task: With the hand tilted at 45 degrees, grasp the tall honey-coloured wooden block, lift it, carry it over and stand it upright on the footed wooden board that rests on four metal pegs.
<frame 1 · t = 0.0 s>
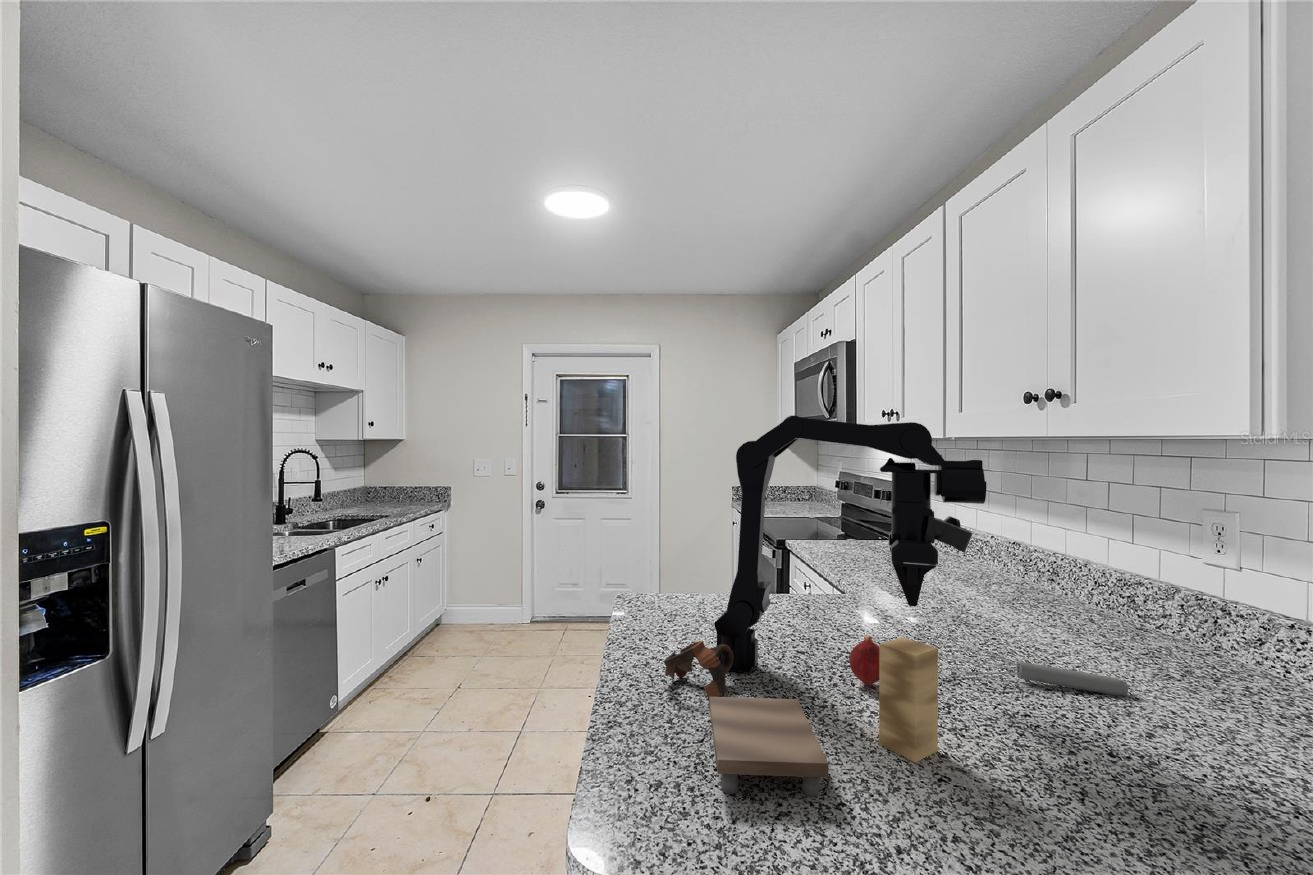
hand: (910, 599, 90), 15 cm above the worktop, tool pointing down, fingers open, 9 cm apart
footed wooden board: (761, 759, 69), on the worktop
onion: (868, 686, 92), on the worktop
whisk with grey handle: (1014, 683, 95), on the worktop
wooden block: (908, 747, 73), on the worktop
brown jagged curved piece: (701, 688, 91), on the worktop
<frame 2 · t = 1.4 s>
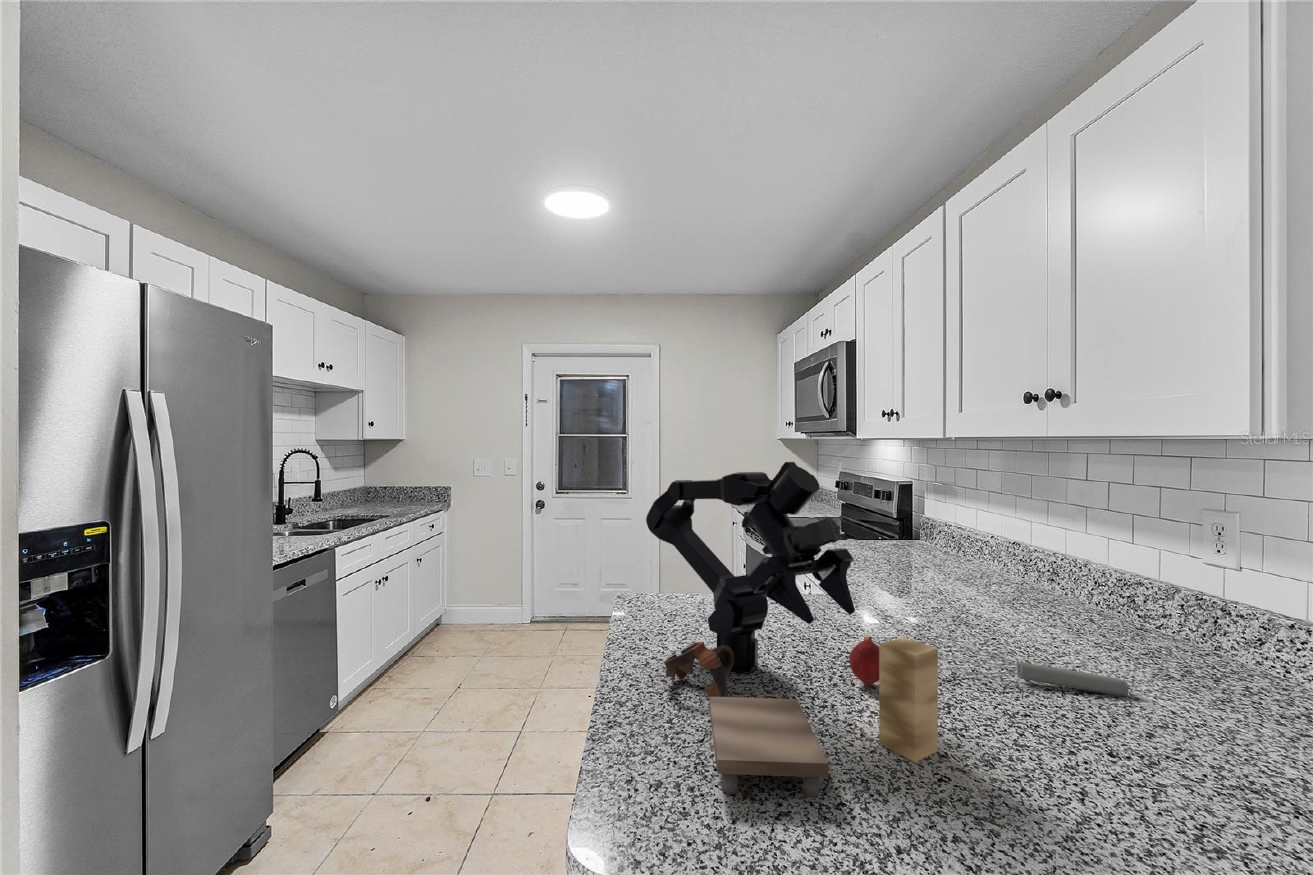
hand: (832, 617, 83), 14 cm above the worktop, tool tilted 45°, fingers open, 9 cm apart
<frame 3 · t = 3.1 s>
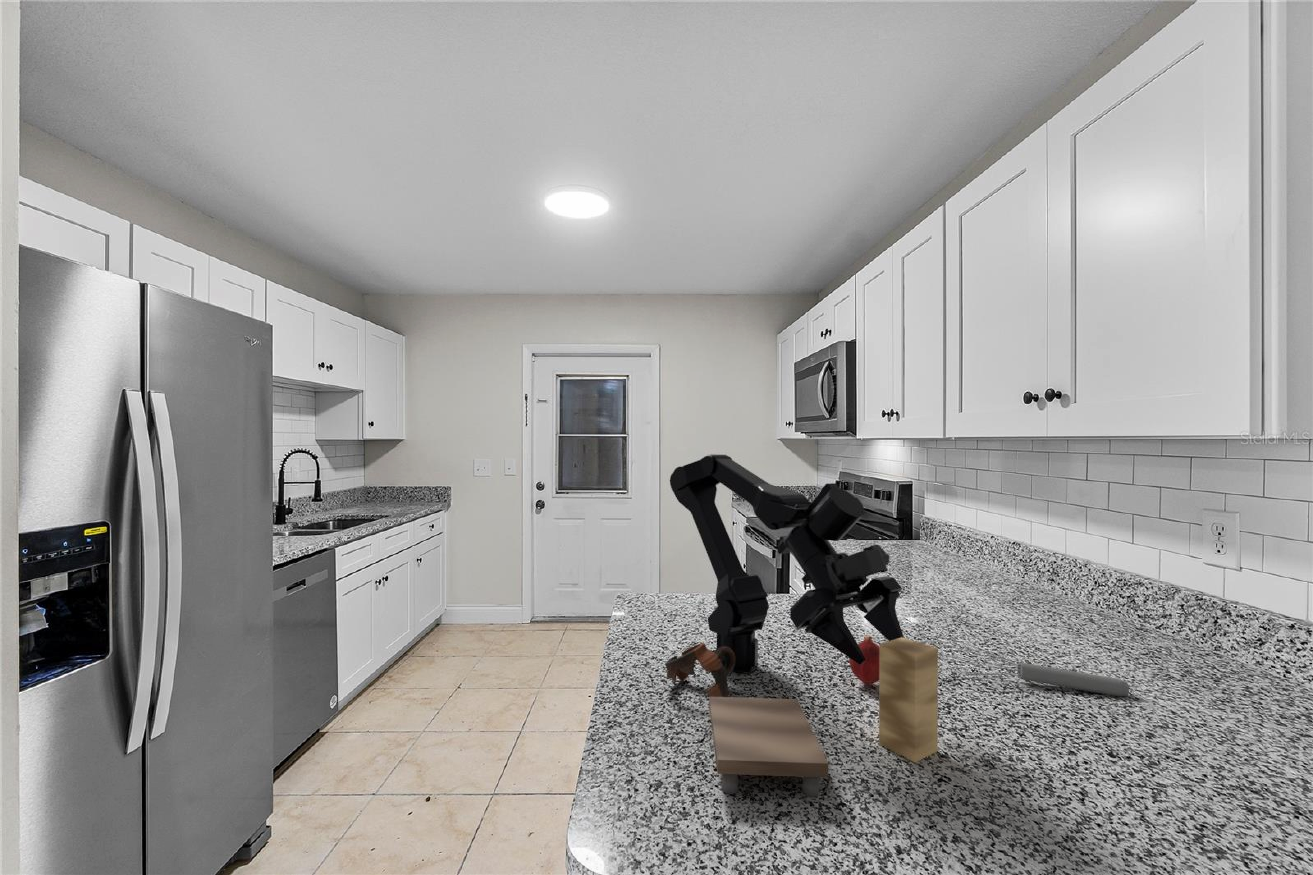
hand: (884, 656, 76), 11 cm above the worktop, tool tilted 45°, fingers open, 9 cm apart
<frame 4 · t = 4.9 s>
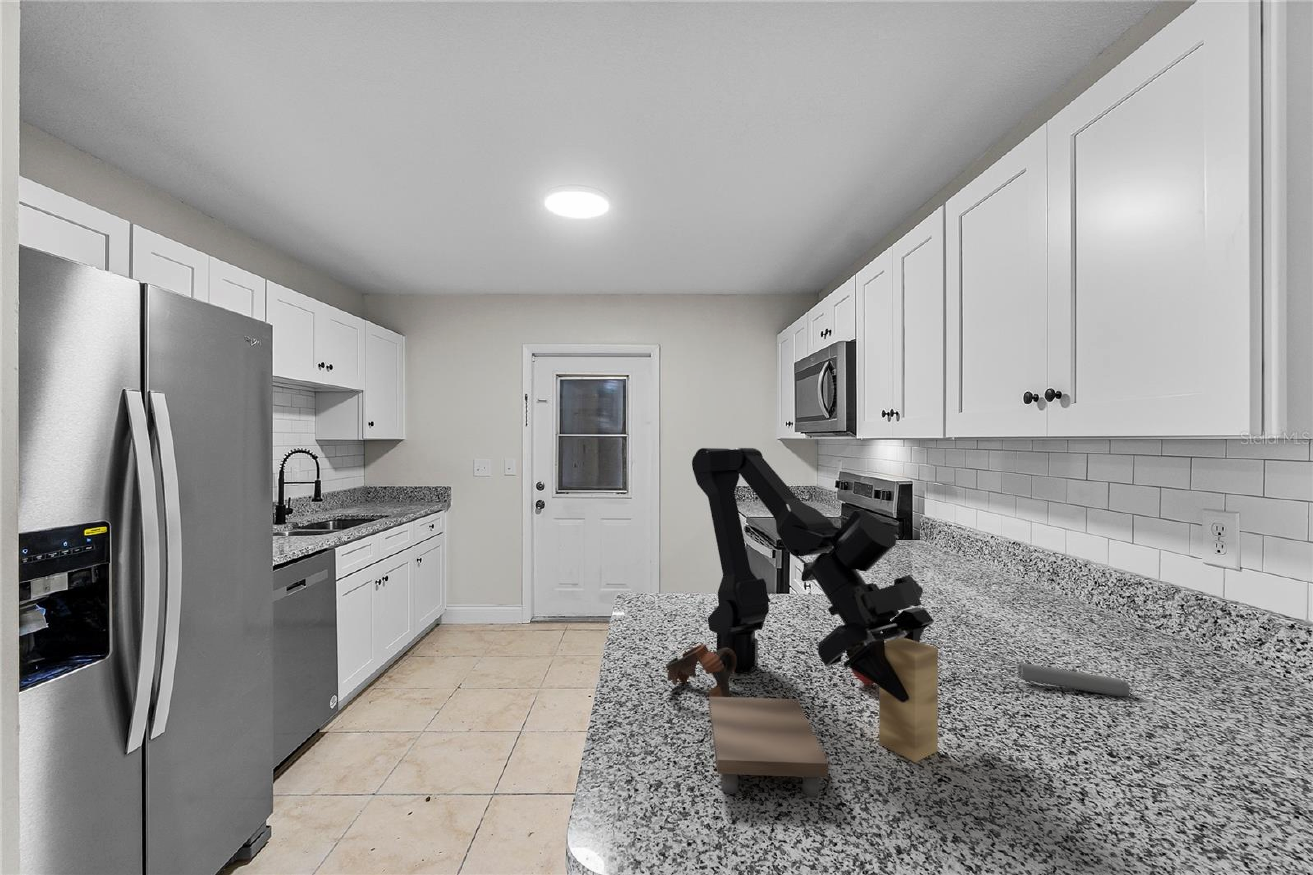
hand: (918, 696, 72), 7 cm above the worktop, tool tilted 45°, fingers closed on wooden block, 5 cm apart
wooden block: (908, 747, 73), on the worktop, touching gripper
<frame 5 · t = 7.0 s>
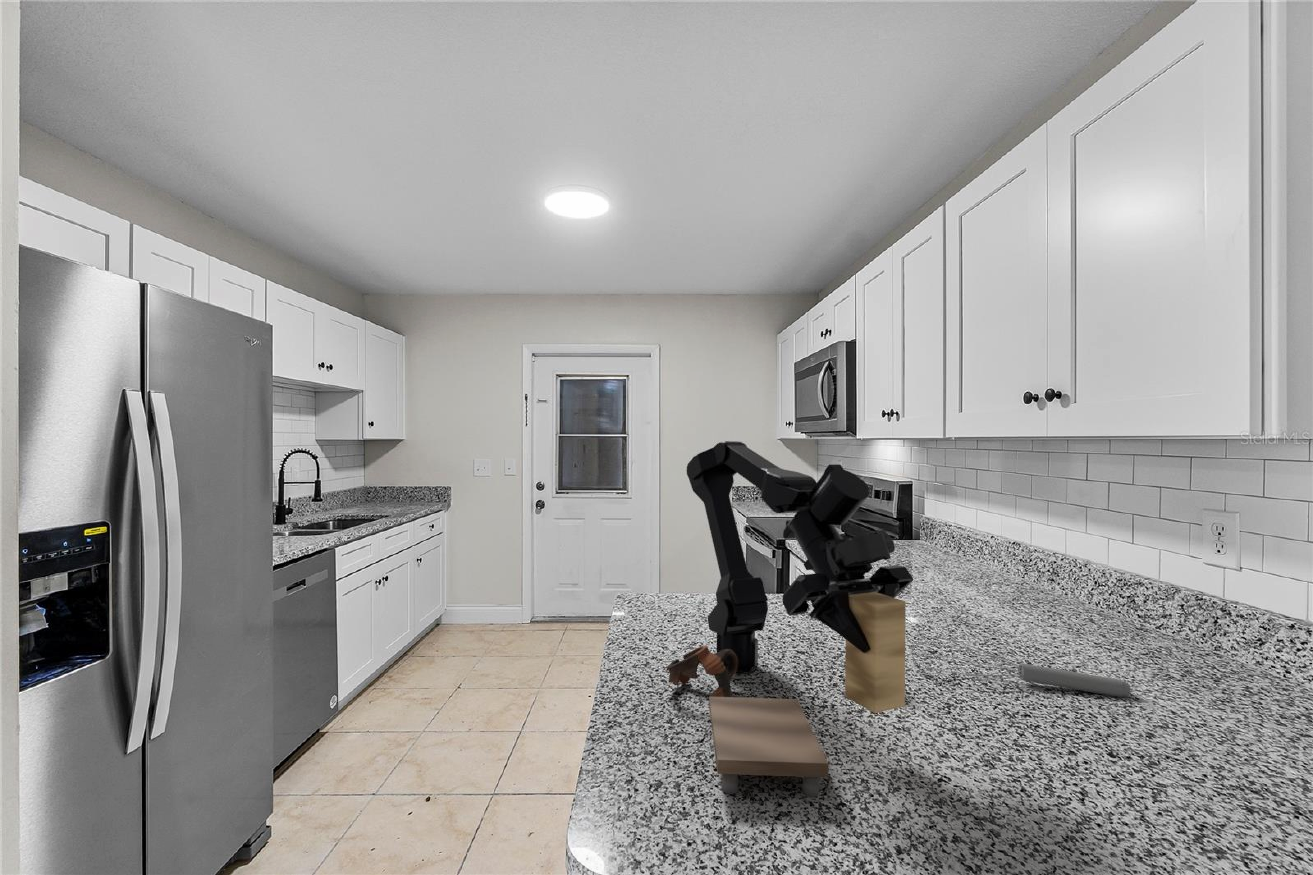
hand: (883, 648, 71), 13 cm above the worktop, tool tilted 45°, fingers closed on wooden block, 5 cm apart
wooden block: (874, 701, 72), point 6 cm above the worktop, touching gripper
when the fingers open (12 cm above the worktop, at t = 9.0 s): wooden block stays where it is, resting on footed wooden board.
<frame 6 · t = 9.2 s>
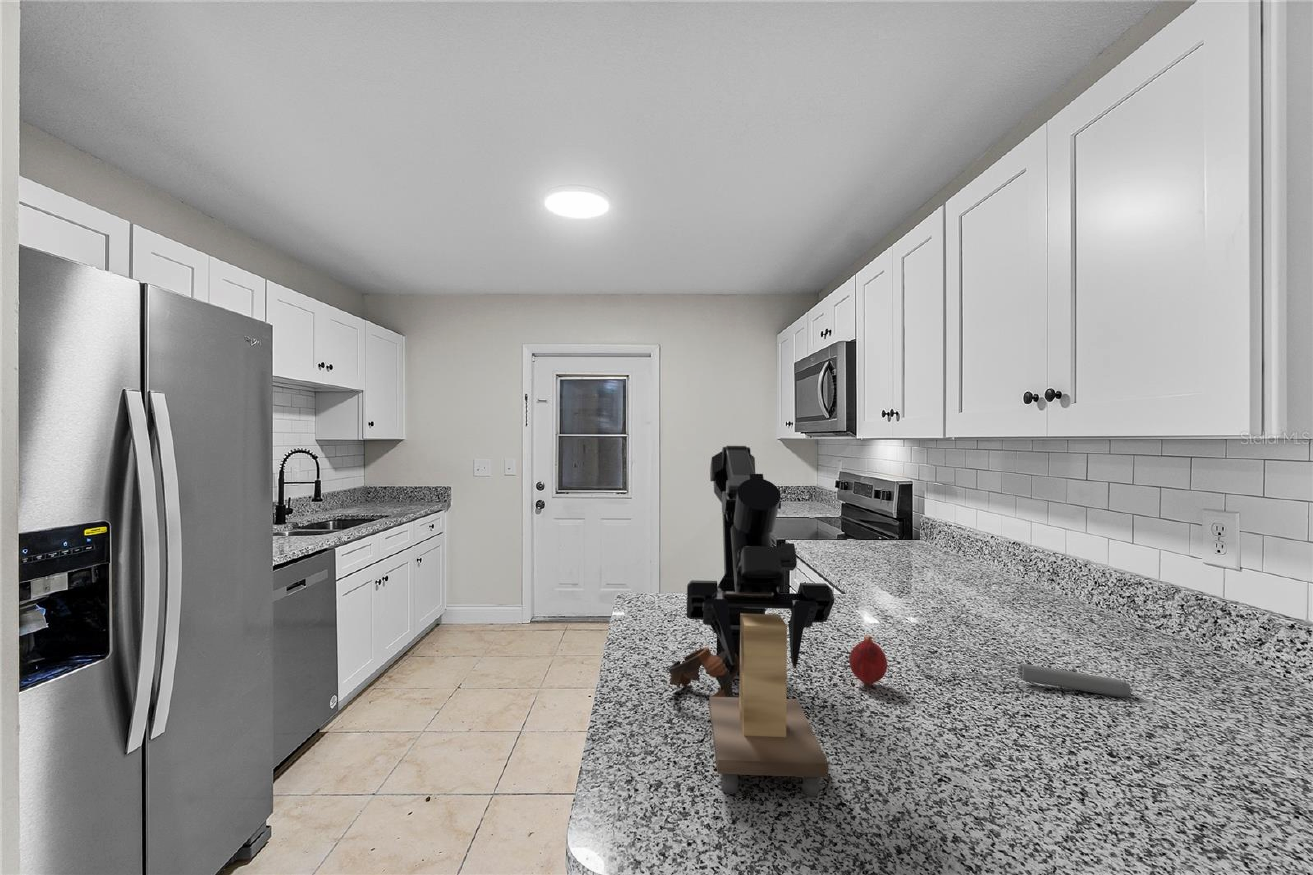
hand: (764, 664, 68), 12 cm above the worktop, tool tilted 45°, fingers open, 7 cm apart
wooden block: (761, 726, 70), point 4 cm above the worktop, touching footed wooden board
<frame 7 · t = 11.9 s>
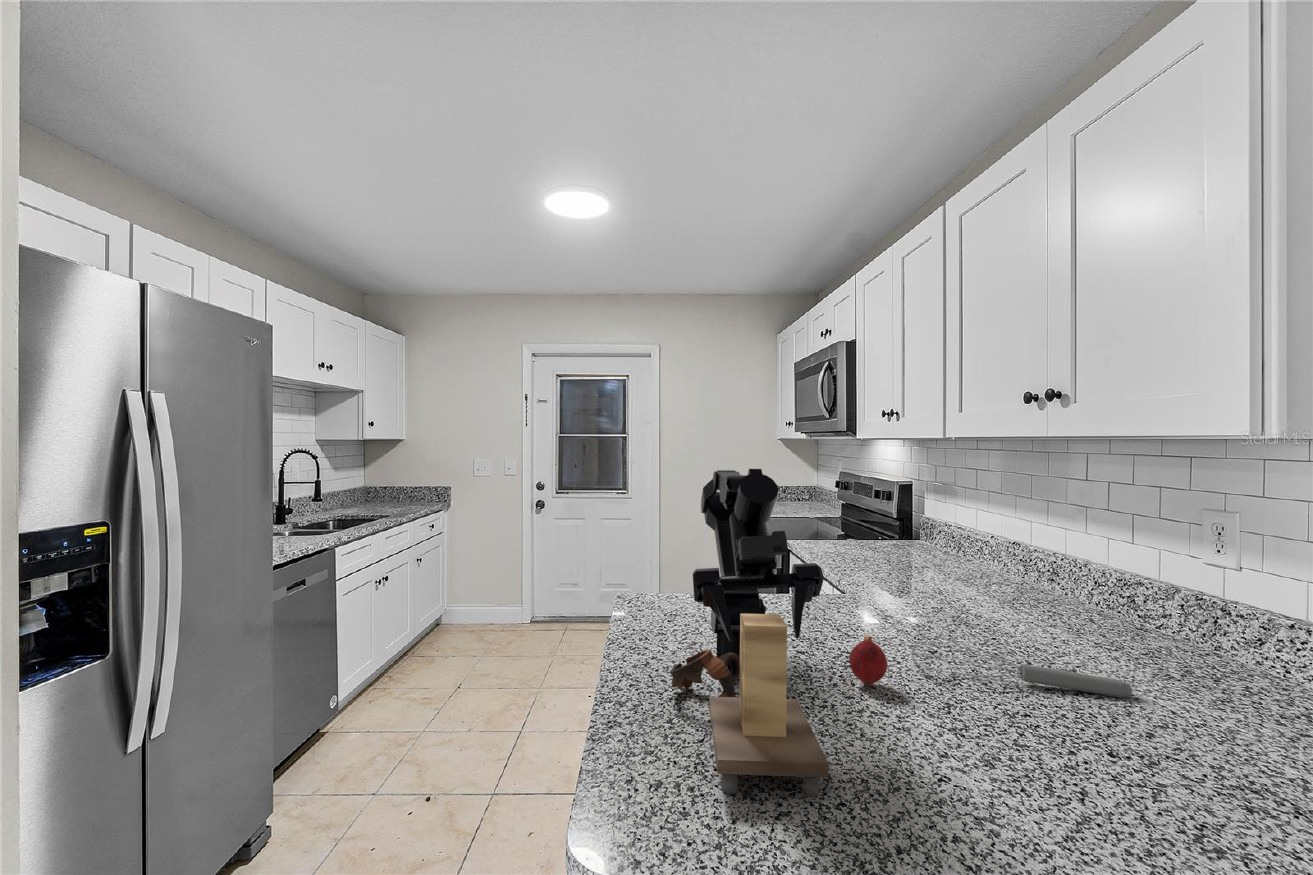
hand: (764, 638, 78), 12 cm above the worktop, tool tilted 40°, fingers open, 9 cm apart
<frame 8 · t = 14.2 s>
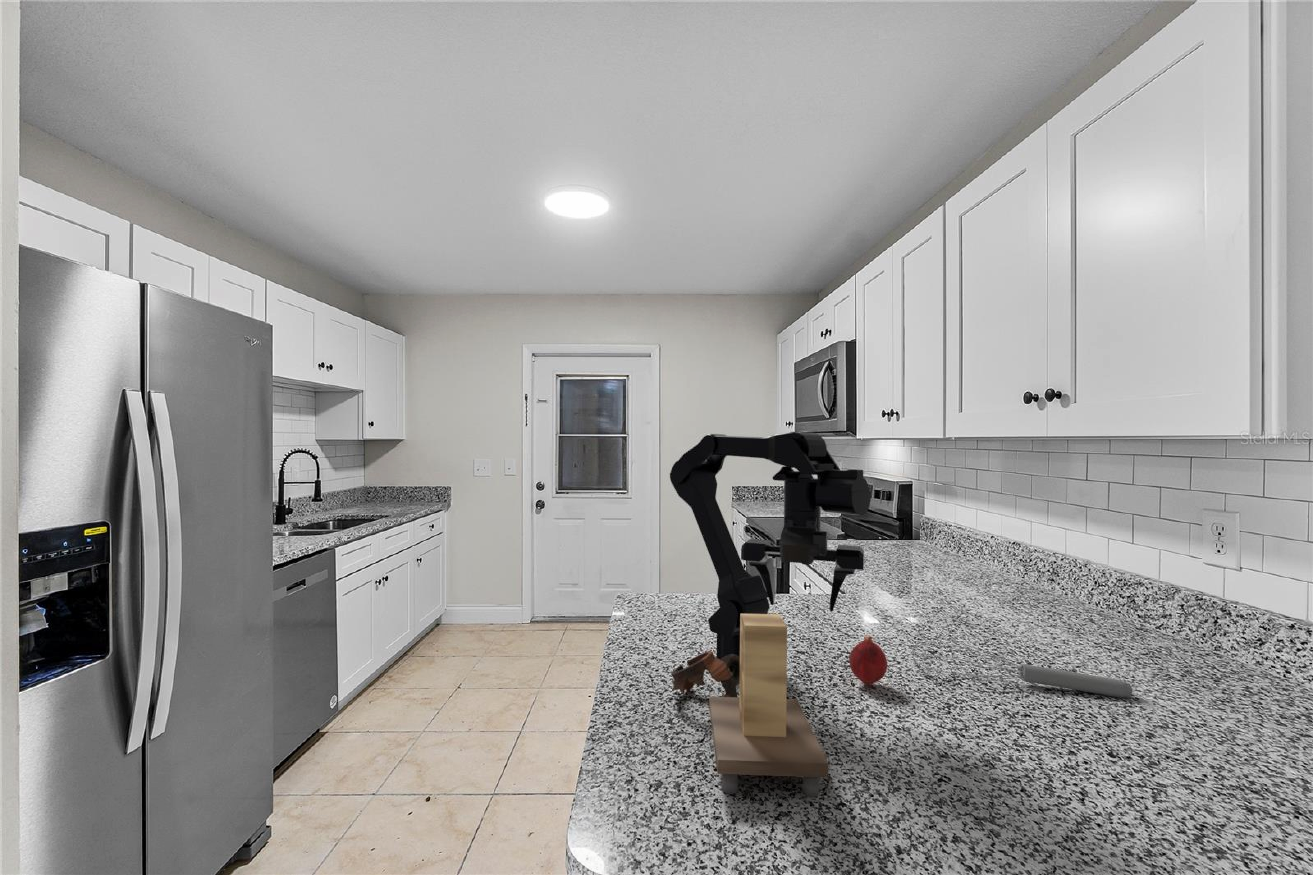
hand: (801, 607, 91), 13 cm above the worktop, tool pointing down, fingers open, 9 cm apart
at the end: wooden block inside the target area on the footed wooden board (0.0 cm from its centre), point 4.0 cm above the footed wooden board's base; wooden block tilted 0°; the gripper is holding nothing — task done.
